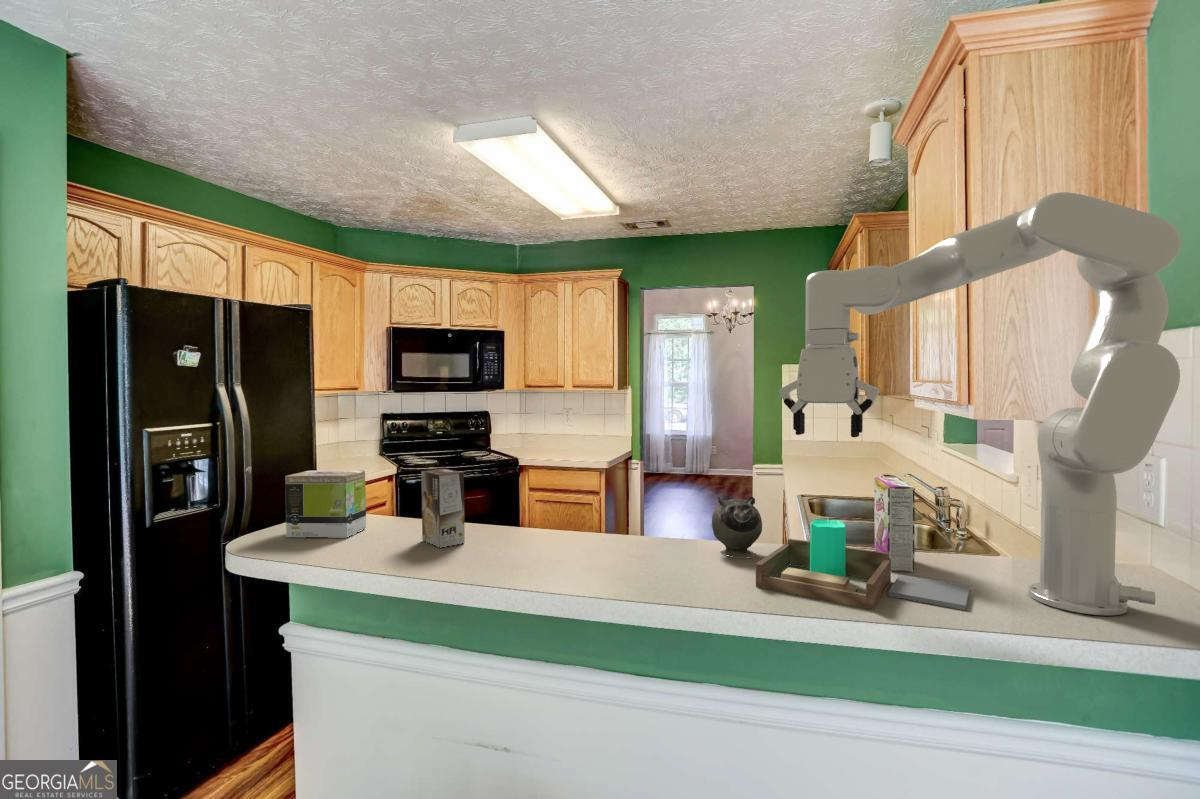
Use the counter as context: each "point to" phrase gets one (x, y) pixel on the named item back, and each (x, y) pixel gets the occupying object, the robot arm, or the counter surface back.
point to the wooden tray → (855, 565)
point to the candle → (828, 547)
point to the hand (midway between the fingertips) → (826, 435)
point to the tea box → (325, 503)
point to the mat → (931, 591)
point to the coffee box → (443, 507)
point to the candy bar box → (895, 522)
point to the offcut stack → (818, 579)
